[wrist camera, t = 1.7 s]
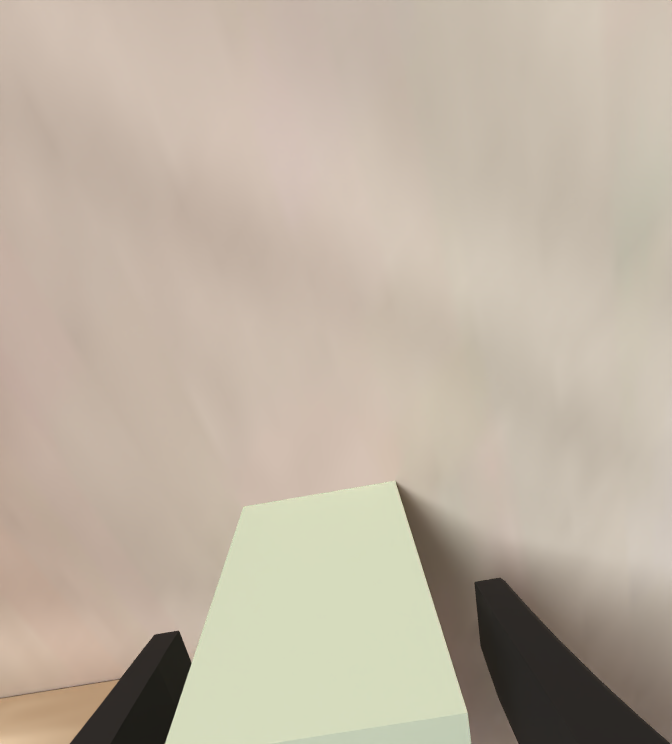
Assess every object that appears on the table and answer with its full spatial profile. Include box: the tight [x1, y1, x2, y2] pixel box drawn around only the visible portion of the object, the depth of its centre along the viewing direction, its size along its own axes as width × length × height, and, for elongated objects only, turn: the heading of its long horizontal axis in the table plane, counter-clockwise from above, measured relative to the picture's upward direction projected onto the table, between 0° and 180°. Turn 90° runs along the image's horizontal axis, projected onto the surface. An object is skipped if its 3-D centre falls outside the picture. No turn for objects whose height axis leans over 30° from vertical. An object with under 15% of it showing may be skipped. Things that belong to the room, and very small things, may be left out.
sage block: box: [165, 481, 471, 744], centre depth 9 cm, size 4×4×6 cm
